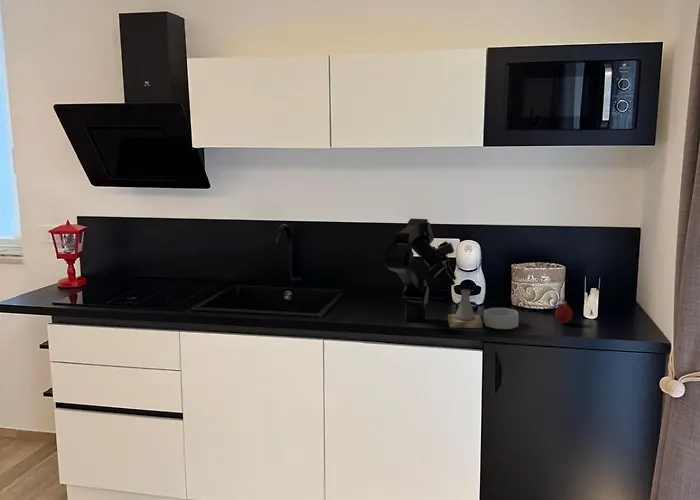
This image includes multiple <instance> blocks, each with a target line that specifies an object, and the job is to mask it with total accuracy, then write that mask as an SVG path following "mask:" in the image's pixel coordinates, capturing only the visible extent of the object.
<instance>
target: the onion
mask: <svg viewBox="0 0 700 500" xmlns="http://www.w3.org/2000/svg"><path fill="white" fill-rule="evenodd" d="M554 315H555V319H556V320H557V321H559V322H560V323H561V325H562V324H563V325H565V324H567V323H568V322H570V321H571V320H572V318H573V316H574V311H573V310H572V308H571V306H569V305H568V303H567V301H564V302H562V303H561V304H559V306H558V307H557V308H556V309H555V312H554Z"/></svg>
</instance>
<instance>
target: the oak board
mask: <svg viewBox="0 0 700 500" xmlns="http://www.w3.org/2000/svg"><path fill="white" fill-rule="evenodd" d="M455 315H456V313H455V314H454V313H451V314H447V321H448V325H449V327H450V328H459V329H460V328H463V329H465V328H467V329H470V328H472V329H483V323H484V321H483V320H482V318H481V317H480V314H474V315H475V319H472V320H460V319H456V318H455Z"/></svg>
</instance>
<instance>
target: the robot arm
mask: <svg viewBox="0 0 700 500" xmlns="http://www.w3.org/2000/svg"><path fill="white" fill-rule="evenodd" d="M434 239H435V236H434V233H433V229H432V226H431V223H430V222H429V220H428V218H410V219H409V220H408V221H407V224H406V226H405V228H403V229H402V230H400V231H397V232H396V233H395V234H394V239H393V240H392V241H391V243H389V245H388V246H387V247H386V251H385V254H384V255H385V256H384V265H385V266H386V269H388V270H389V271H391V272H394V273H397V275H398V276H399V278H400V280H401V281H402V282H403V284H404V287H403V289H402V294H401V298H400V299H401V300H400V301H401V304H405V317H404V318H405V322H407V323H408V322H410V323H411V322H412V323H413V322H414V323H415V322H416V323H417V322H418V323H424V322H425V319H426V306H425V305H427V304H428V301H429V292H430V287H429V286H428V283H427V281H426V279H425V277H422V276H417V275H416V273H415V271H414V270H413V268H412V264H413V259H414V254H417V255H418V257H420V260H421V262H425V264H426V265H427V266H428V274H429V276H430V277H431V278H434V279H436V280H438V281H439V280H440V281H442V282H444V283H446V284H449V285H451V286H455V284H456V282H455V280H457V276H456V274H455V273H454V271H453V270H452V268H451V266H450V258H449V256H448V255H449V254H450V255H451V254H454V252H455V249H454V247H453V243H452V242H447V241H443V242H442V243H441V246H439V247H438V248H437V247H436V246H432V243H433V241H434ZM399 245H404V246H405V245H407V248H408V249H409V252H405V251H395V249H396V248H398V246H399ZM414 252H415V253H414Z"/></svg>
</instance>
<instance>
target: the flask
mask: <svg viewBox="0 0 700 500" xmlns="http://www.w3.org/2000/svg"><path fill="white" fill-rule="evenodd" d="M460 293H461V296H460V298H461V299H460V302H459V304H458V308H457V311H456V313H455V314H456V315H455V318H456V319H460V320H472V319H475V315H476V314H475V312H474V308H473V306H472V303H471V298H470V293H471V290H470V289H465V288H464V289H461V290H460Z"/></svg>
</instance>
